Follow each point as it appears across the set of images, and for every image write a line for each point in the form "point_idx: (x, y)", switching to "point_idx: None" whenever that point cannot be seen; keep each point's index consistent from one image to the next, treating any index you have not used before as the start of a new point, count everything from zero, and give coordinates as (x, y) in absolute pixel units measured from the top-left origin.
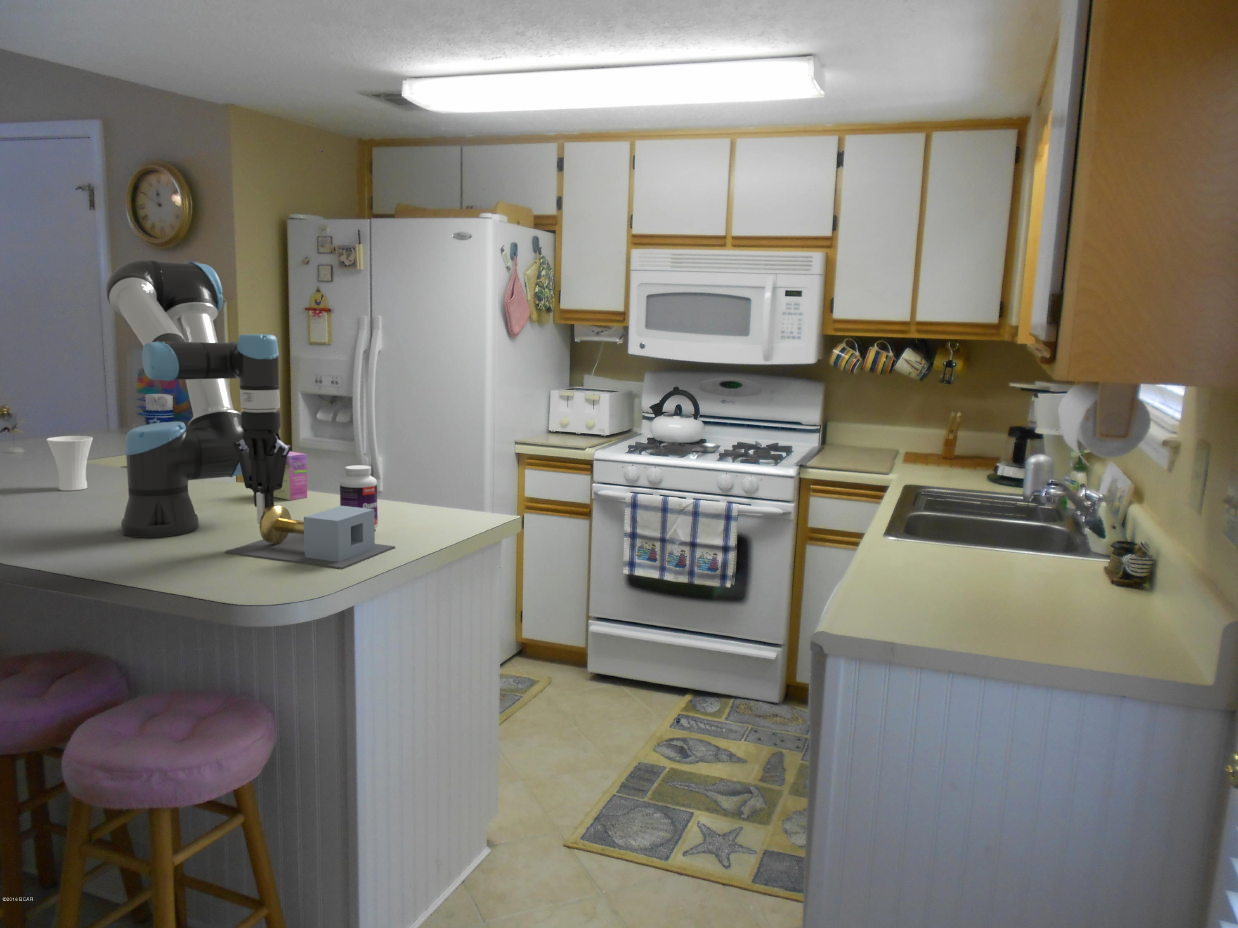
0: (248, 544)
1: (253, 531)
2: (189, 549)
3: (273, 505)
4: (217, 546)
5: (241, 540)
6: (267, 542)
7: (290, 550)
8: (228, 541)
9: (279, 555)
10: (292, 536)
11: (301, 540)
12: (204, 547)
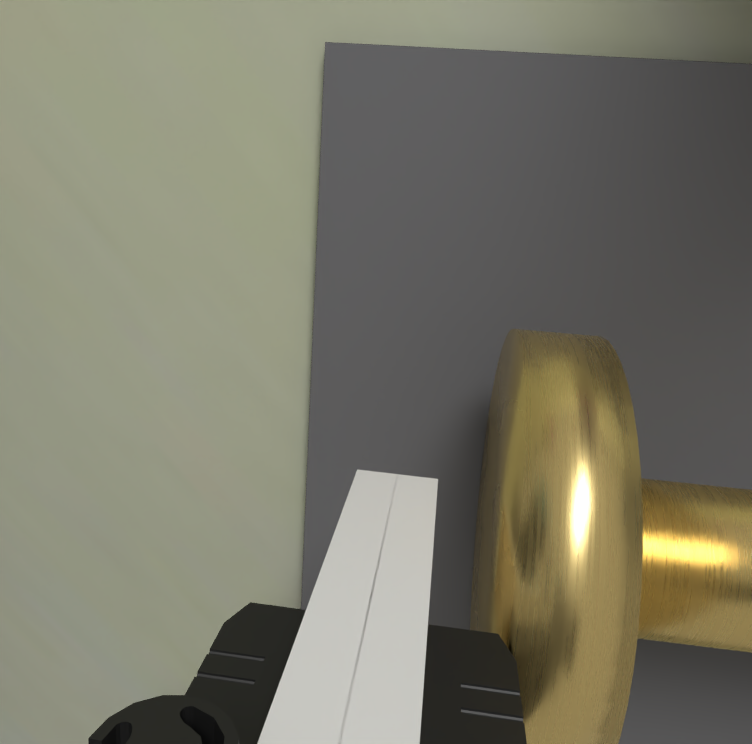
0: (317, 537)
1: (3, 88)
2: (34, 711)
3: (517, 668)
4: (129, 603)
5: (150, 404)
6: (412, 437)
7: None
8: (88, 462)
9: (736, 730)
10: (488, 168)
11: (659, 276)
12: (75, 647)
